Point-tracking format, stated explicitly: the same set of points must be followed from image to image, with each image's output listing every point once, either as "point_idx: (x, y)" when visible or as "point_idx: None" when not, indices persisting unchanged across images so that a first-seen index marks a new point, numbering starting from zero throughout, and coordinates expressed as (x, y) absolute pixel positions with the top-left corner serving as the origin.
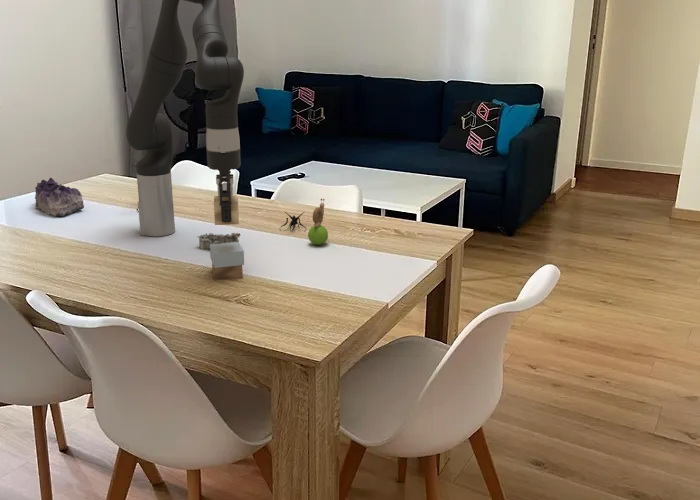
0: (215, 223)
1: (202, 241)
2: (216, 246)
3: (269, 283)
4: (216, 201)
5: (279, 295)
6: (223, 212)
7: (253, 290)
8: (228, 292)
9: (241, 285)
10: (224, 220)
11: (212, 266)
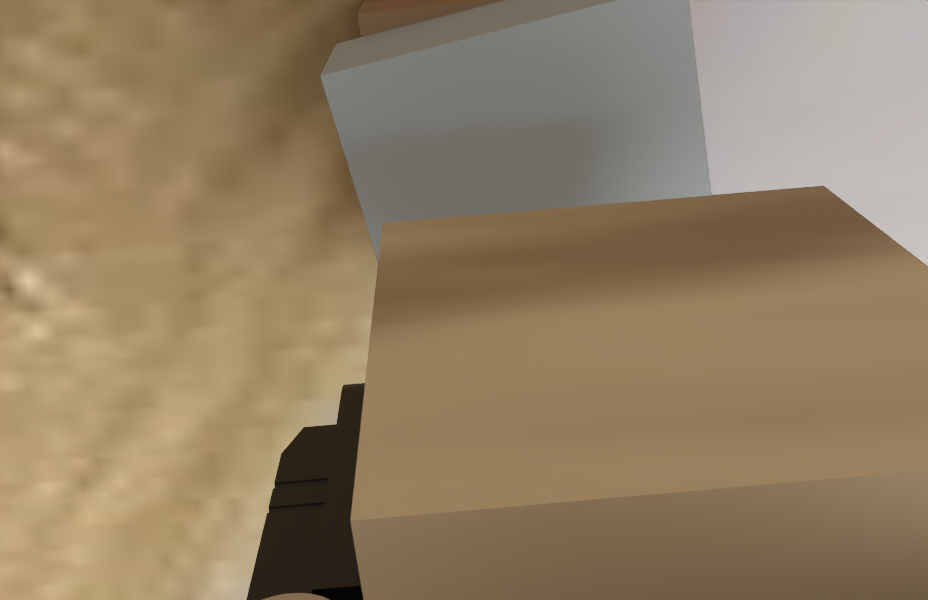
0: (386, 243)
1: None
2: (597, 79)
3: (286, 434)
4: (428, 583)
5: (66, 500)
6: (266, 550)
7: (138, 341)
8: (71, 162)
9: (235, 250)
10: (306, 444)
11: (378, 15)
